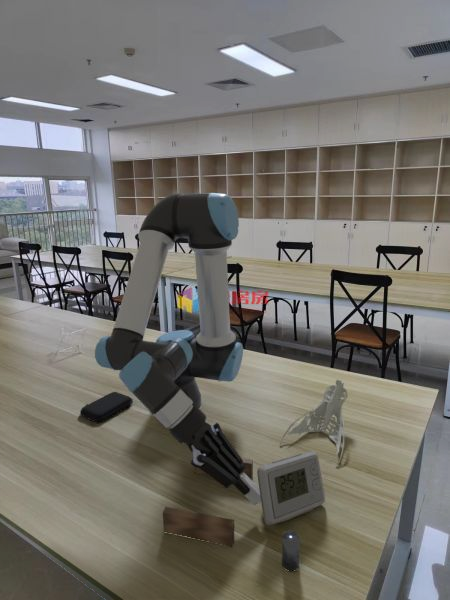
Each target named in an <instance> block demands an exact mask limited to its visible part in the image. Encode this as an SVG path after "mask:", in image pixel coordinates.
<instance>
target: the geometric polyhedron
mask: <svg viewBox="0 0 450 600" xmlns="http://www.w3.org/2000/svg"><path fill="white" fill-rule="evenodd" d="M74 329H78V330H75V331H73V332H69V333H68V332H67V331H66V330H65V328H64V327H61V328H60V334H59V339H58V343H57V350H56V353H58V354H59V353H60V354H61V353H62V354H64V353H65V354H71V352H70V351H69V352H63V351H65V350H68V349H72V348H75V349H76V350H78V351H79V352H80V354H82V353H83V351H82V350H83V349H84V345H82V347H81V345H80V344H81V342H82V339H83V338H85V337H86V330H87V328H86V327H74ZM83 330H84V331H83ZM80 331H83V332H82V334H81V338H80V340H79V343H78V341H76V339H74V338H73V337H72V336H71V334H73V333H76V332H77V333H78V332H80ZM64 332H65V333H66V334H64ZM61 336H62V337H61ZM66 336H69V337H70V338H71V339H72V340H73V341H74V342H76V344H77V345H74V344H73V343H72V342H71V341H70V340H69V339H68V338H66ZM64 338H65V339H66V340H67V341H68V342H69V343H70V344H71V345H72V346H71V347H68V348H65V349H62V350H60V347H61V345H62V342H63V339H64ZM84 343H85V339H83V342H82V344H84ZM77 346H79V347H78V348H79V349H78V348H77ZM59 350H60V351H59Z"/></svg>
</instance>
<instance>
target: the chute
mask: <svg viewBox="0 0 450 600" xmlns="http://www.w3.org/2000/svg"><path fill="white" fill-rule="evenodd" d="M241 458H242V460H243V463H242V464H241V466H243V465H245V466H246V469H244V470H243V471H244V472H245V473H246V474H247V475H248V476H249V477H250V478H251V480H252V481H253V478H254V475H253V474H254V471H253V470H254V460H253V459H251V458H243V457H241ZM193 473H194V474H199V475H200V474H201V475H204V476H209V475H208V474H207V473H205V472H204V471H203V470H201V469H200V468H197V467H194V466H193ZM162 523H163V533H164V532H167V533H172V534H177V535H182V536H187V537H191V538H195V539H200V540H204V541H209V542H212V543H211V544H213V543H217V544H216V545H218V544H222V545H221V546H223V545H226V546H225V547H227V546H229V547H228V548H232V547H233V548H234V543H235V519H232V518H226V517H220V516H216V515H210V514H205V513H199V512H195V511H189V510H185V509H179V508H174V507H168V506H165V507H164V509H163V510H162Z"/></svg>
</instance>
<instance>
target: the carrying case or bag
mask: <svg viewBox="0 0 450 600" xmlns="http://www.w3.org/2000/svg"><path fill="white" fill-rule="evenodd" d="M133 402H134V400H133V398H132V397H130V396H128V395H125V394H123V393H121V392H117V391H112V392H110V393H108V394H106V395H104V396H101V397H100V398H98V399H96V400H94V401H92V402H90V403H89V404H88V403H87V404H85V405H84V406H83V407H82V408H81V409H80V415H81V416H83V418H85V419H88V420H91V421H93V422H95V423H99V424H100V423H103V422H105V421H106V420H108V419H110V418H111V417H114V416H115V415H117V414H119V413H121V412H122V411H124V410H125V409H127V408H129V407H130V406H132V404H133ZM118 412H119V413H118Z"/></svg>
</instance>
